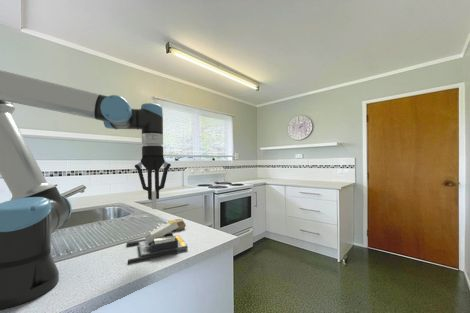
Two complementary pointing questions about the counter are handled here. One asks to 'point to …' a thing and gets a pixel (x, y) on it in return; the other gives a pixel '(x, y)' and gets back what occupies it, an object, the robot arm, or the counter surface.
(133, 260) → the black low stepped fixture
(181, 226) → the stone
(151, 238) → the breaker lever
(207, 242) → the counter surface
